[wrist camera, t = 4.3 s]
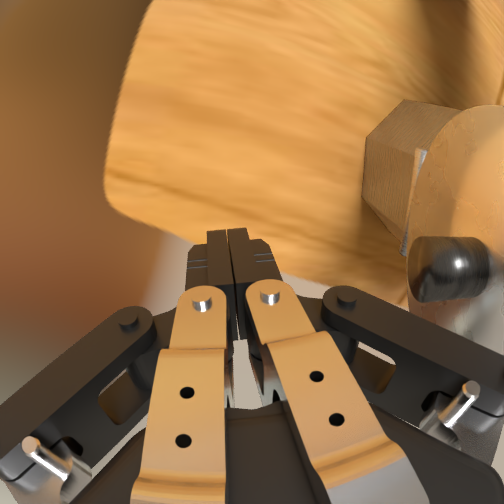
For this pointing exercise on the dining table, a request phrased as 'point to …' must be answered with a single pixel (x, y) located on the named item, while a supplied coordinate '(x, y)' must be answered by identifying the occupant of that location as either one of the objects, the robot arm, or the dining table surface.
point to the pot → (399, 158)
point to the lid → (459, 228)
